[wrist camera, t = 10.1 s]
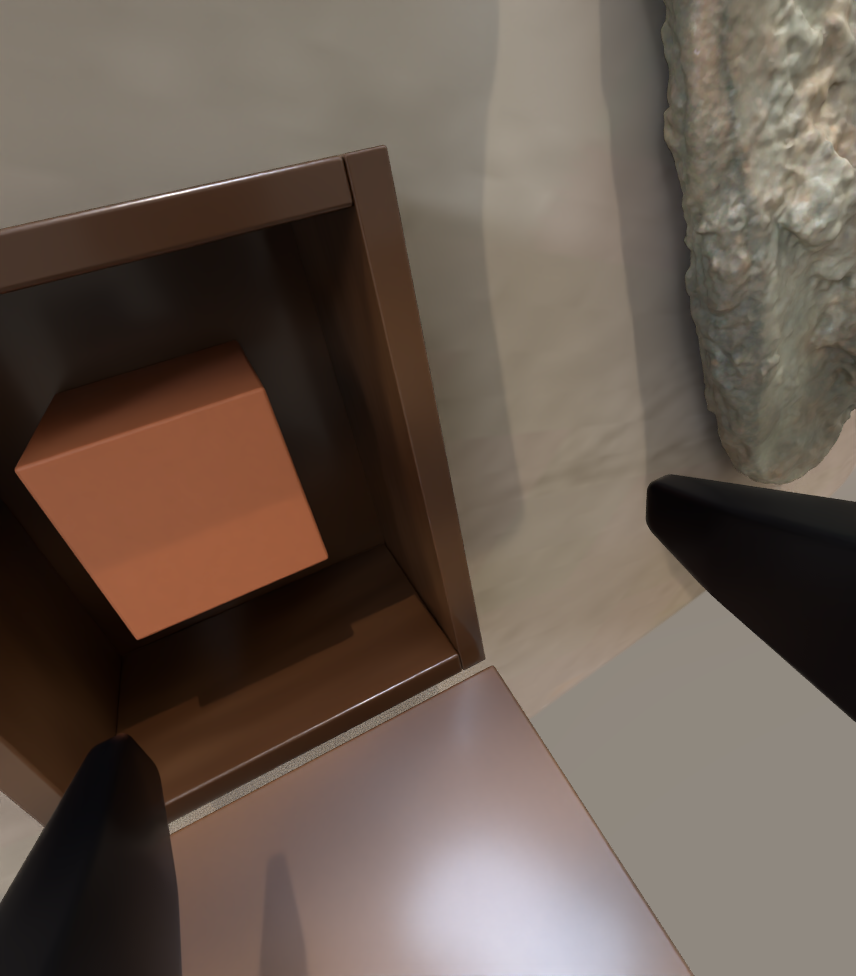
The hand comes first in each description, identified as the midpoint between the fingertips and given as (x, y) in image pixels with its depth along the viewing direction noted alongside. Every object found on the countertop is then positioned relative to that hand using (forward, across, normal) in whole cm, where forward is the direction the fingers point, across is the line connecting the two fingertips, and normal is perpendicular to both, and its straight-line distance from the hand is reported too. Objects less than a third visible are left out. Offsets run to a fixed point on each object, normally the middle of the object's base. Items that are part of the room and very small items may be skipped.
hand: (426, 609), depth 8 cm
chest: (+11, +3, +1) cm, 12 cm away
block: (+11, +3, 0) cm, 11 cm away
